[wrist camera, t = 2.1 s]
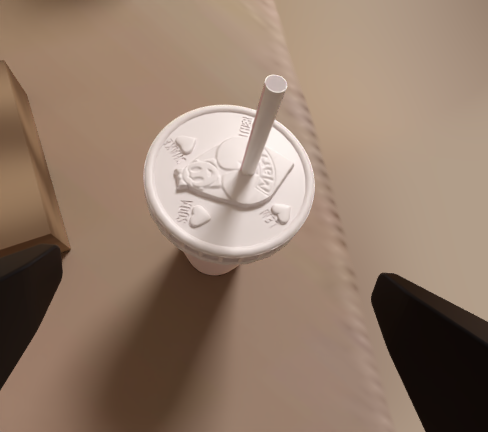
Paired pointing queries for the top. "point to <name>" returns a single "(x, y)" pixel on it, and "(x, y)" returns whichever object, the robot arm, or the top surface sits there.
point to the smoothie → (229, 182)
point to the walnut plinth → (24, 176)
